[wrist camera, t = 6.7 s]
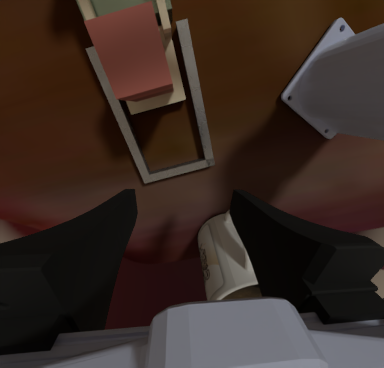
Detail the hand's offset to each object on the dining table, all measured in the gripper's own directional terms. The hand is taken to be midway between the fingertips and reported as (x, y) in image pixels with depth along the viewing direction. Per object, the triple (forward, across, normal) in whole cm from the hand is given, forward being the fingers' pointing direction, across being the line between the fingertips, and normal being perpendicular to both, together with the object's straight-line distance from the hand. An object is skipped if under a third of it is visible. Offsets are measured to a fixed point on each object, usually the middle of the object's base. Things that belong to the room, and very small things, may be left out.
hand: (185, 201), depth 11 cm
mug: (+10, -8, +12) cm, 18 cm away
